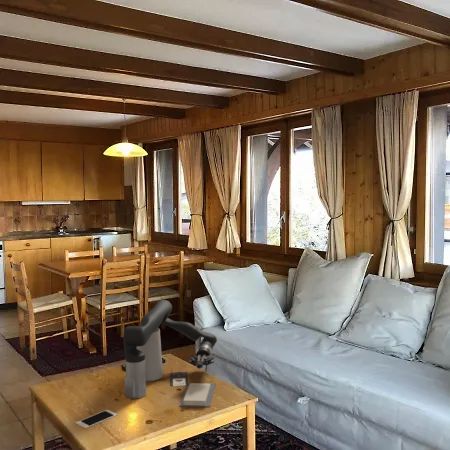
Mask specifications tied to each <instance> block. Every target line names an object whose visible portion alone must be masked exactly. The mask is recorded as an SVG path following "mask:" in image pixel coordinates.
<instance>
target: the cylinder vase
mask: <svg viewBox="0 0 450 450" xmlns="http://www.w3.org/2000/svg"><path fill="white" fill-rule="evenodd" d="M161 343H162V341H161V330H160V328H159V327H158V328H157V329H156V330H155V331H154V332H153V333H152V334H151V336H150V338H149V339H148V341H147V343H146V344H145V345H144V346H136V349H138V350H140V351H142V352H144V354H145V372H146V382H154V381H158V380H159V379H162V378H163V375H164V373H163V372H164V371H163V359H162V344H161Z"/></svg>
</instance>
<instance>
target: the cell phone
mask: <svg viewBox="0 0 450 450" xmlns="http://www.w3.org/2000/svg"><path fill="white" fill-rule="evenodd" d="M116 416H118V414H117V412H114V411H111V410H109V409H105V410H102V411H100V412H98V413H95V414H93V415H90V416H88V417H85V418H83V419H81V420H78V421H76V422H75V424H77V425H78V426H80V427H82V428H84V429H87V428H90V427H93V426H95V425H98V424H99V423H101V422H104V421H107V420H109V419H111V418H113V417H116Z"/></svg>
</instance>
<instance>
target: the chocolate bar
mask: <svg viewBox="0 0 450 450" xmlns="http://www.w3.org/2000/svg"><path fill="white" fill-rule="evenodd" d="M169 374H170V376H169V377H170V381H169V383H170V384H169V385H170V387H177V386H179V387H180V386H187V385H188V383H189V378H188V377H189V376H188V375H189V374H188V371H181V372H180V371H178V372H170V373H169Z"/></svg>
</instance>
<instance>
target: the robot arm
mask: <svg viewBox="0 0 450 450" xmlns="http://www.w3.org/2000/svg"><path fill="white" fill-rule="evenodd" d="M172 310H173V305H172V304H171V302H170V301H169V300H166V299H160V300H158V301H157V302H156V304H155V306H154V307H152V308H151V309H150V310H149V311H148V312H147V313H146V314H144V316H143V317H141V318H140V324H139V326H138V325H137V326H135V325H134V326H133V325H132V326H131V325H129V326H128V325H127V326H126V327H125V328H124V330H123V337H122V338H123V348H124V349H123V350H124V357H125V376H124V378H123V379H124V397H127V398H128V399H130V400H131V399H132V400H135V399H140V398H143V397H145V396H146V395H147V381H146V372H145V354H144V352H142V351H140V350H138V349H137V346H144V345H145V344H146V343H147V341H148V339H149V338H150V336H151V334H152V333H153V332H154V331H155V330H156V329H157V328H159V327H160V325H161V324H162V325H165V326H167V327H169V328H170V329H171V328H172V329H173V330H175V331H177V332H179V333H181V334H183V335H184V336H186V337H187V338H188V339H190V340H192V342H196V341H198V340H199V338H202V340H201V342H200V343H199V346H198V349H197V351H196V353H195V355H194V356H193V357H192V356H189V358H188V360H189V363H190V364H191V365H193V366H196V368H197V369H199V370H200V369H202V368H203V367H204V366H209V365H211V364H214V363H215V357H213V356H212V353H213V349H214V347H215V346H216V343H217V341H218V339H217V336H216V335H215V334H212V333H211V332H210V333H209V332H208V331H207V332H206V331H205V330H202V329H200V328H198V327H197V326H195V325H194V324H193V323H190V322H187V321H175V320H173V319H170V318H169V316H170V314H171V312H172Z"/></svg>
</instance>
